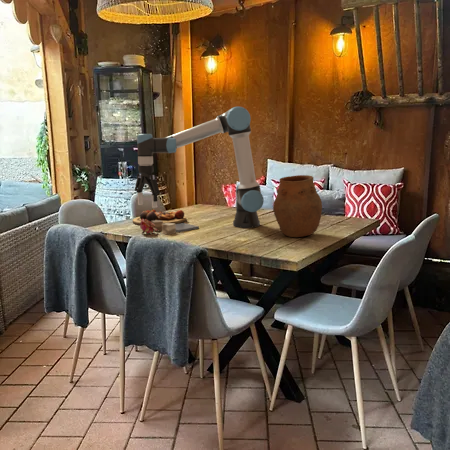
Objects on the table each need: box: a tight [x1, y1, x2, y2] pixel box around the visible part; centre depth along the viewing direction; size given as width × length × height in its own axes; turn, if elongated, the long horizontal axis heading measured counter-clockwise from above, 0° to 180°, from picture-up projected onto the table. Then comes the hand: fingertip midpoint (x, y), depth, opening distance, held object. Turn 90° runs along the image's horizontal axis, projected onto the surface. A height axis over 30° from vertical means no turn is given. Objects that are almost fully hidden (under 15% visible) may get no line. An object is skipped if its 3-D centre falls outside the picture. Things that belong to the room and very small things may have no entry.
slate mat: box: [175, 222, 200, 233], centre depth 239 cm, size 14×14×1 cm
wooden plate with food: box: [132, 207, 187, 226], centre depth 260 cm, size 32×32×8 cm
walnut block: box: [151, 220, 163, 232], centre depth 235 cm, size 5×5×5 cm
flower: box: [139, 218, 157, 235], centre depth 226 cm, size 10×9×8 cm
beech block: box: [161, 223, 177, 235], centre depth 227 cm, size 5×5×5 cm
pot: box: [272, 174, 323, 238], centre depth 216 cm, size 24×24×30 cm
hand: (147, 206), depth 223 cm, fingers open, 13 cm apart
